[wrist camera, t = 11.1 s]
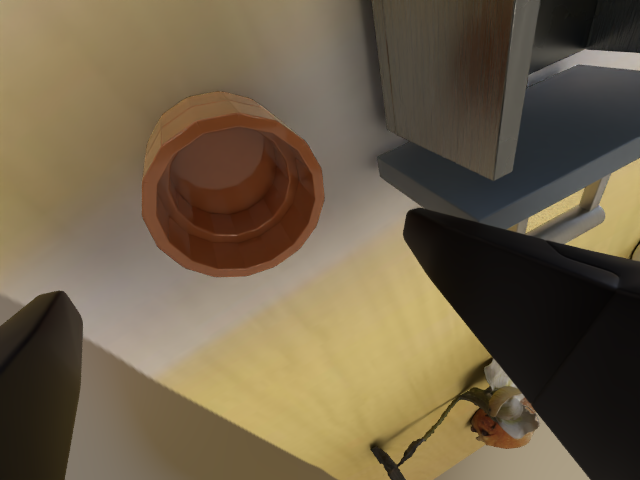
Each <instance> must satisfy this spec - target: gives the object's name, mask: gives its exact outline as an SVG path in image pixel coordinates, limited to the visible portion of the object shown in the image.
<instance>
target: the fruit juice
mask: <svg viewBox="0 0 640 480" xmlns="http://www.w3.org/2000/svg"><path fill="white" fill-rule="evenodd" d="M632 260H636V261H640V244H639V245H638V247H637V248H636V250H635V252H634V254H633V256H632Z"/></svg>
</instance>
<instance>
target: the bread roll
mask: <svg viewBox="0 0 640 480" xmlns="http://www.w3.org/2000/svg"><path fill="white" fill-rule="evenodd" d="M520 403H521V404H523V405H525V406H528V407H529V408H531V409H532V410H533V411H534V408H533V407H532V406H531V404H530V403H529V402H528V401H527V399H526V398H523V399H522V400H520ZM529 408H527V407H525V409H527V410H529V412H530V413H532V414H535V413H534V412H535V411H534V412H533V411H532V410H530V409H529ZM471 424H472V427H471V431H472V432H477V433H478V434H479V436H478V437H476V439H477V440H478V441H483V442H485V443H486V445H489V446H494V447H499V448H505V449H509V448H518V447H521V446H524V445H526V444H527V443H529V441H530V439H531V437H532V435H533V433H534V431H535V430H534V431H532V432H528V433H527V434H526V435H524V436H523V437H522V438H520V439H514V438H513V437H511V436H510V435H509V434H508V433H507V432H506V431H504V430H503V429H502V428H501V427H500V426H499V425H498V423H497V422H495V421H493V420H492V419H491V418H490V417H489V416H488V414H486V413H485V411H484V410H483V409H481V408H480V409H479V410H478V411H477V412H476V413H475V415H474V416H473V418H472V420H471Z"/></svg>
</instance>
